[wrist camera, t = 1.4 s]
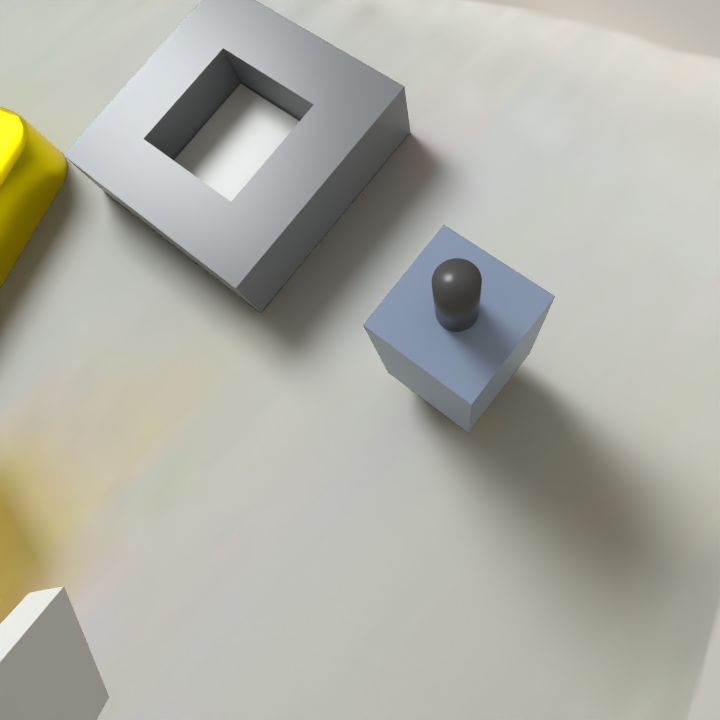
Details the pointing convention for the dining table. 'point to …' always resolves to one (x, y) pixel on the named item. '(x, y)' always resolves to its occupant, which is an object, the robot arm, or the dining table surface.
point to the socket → (244, 142)
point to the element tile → (24, 184)
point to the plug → (457, 326)
